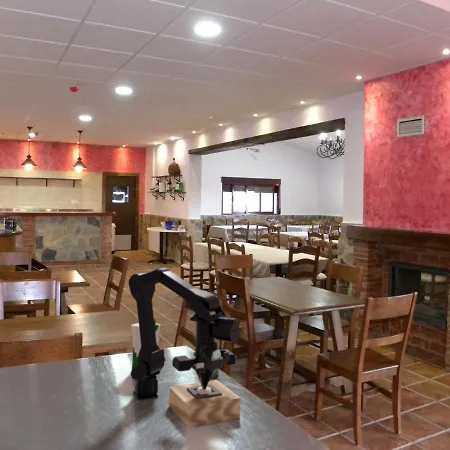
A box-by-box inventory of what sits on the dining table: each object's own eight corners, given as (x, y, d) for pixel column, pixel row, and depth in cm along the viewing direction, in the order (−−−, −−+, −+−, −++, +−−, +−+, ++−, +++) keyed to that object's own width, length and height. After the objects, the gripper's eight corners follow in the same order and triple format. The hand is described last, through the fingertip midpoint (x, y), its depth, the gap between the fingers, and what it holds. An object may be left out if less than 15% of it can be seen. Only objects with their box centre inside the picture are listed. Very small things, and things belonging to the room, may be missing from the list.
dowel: (200, 410, 143) (200, 392, 142) (194, 405, 146) (195, 387, 146) (212, 408, 144) (213, 390, 144) (207, 403, 148) (207, 385, 148)
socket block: (189, 428, 135) (189, 404, 134) (169, 406, 149) (169, 385, 149) (239, 418, 142) (240, 395, 142) (216, 398, 156) (216, 378, 156)
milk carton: (144, 379, 171) (146, 323, 171) (127, 373, 177) (128, 319, 176) (162, 372, 178) (163, 318, 178) (144, 367, 184) (145, 315, 183)
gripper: (186, 347, 133) (185, 403, 134) (246, 340, 142) (244, 393, 142) (172, 337, 143) (171, 389, 144) (228, 331, 152) (227, 381, 152)
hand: (204, 388), depth 145 cm, fingers closed, pressing on dowel
